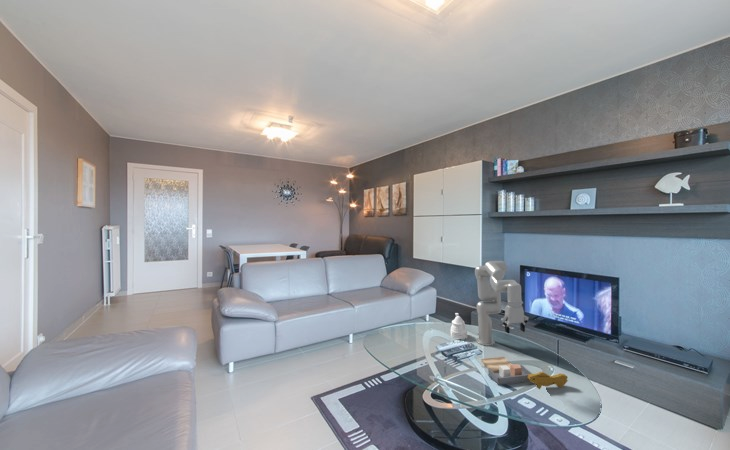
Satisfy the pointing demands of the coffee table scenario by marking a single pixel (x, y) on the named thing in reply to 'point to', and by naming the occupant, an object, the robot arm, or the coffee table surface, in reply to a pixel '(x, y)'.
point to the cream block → (504, 371)
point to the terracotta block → (515, 370)
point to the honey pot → (458, 328)
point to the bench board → (495, 363)
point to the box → (510, 377)
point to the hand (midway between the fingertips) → (515, 331)
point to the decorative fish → (547, 379)
